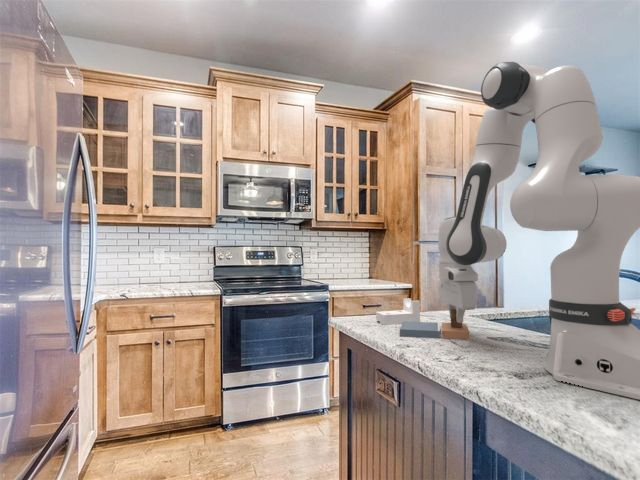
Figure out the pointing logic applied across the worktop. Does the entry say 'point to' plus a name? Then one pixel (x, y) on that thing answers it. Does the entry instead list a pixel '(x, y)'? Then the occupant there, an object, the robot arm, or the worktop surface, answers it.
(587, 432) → the worktop surface
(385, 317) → the bracket
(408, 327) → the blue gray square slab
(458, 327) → the stub
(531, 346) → the worktop surface
